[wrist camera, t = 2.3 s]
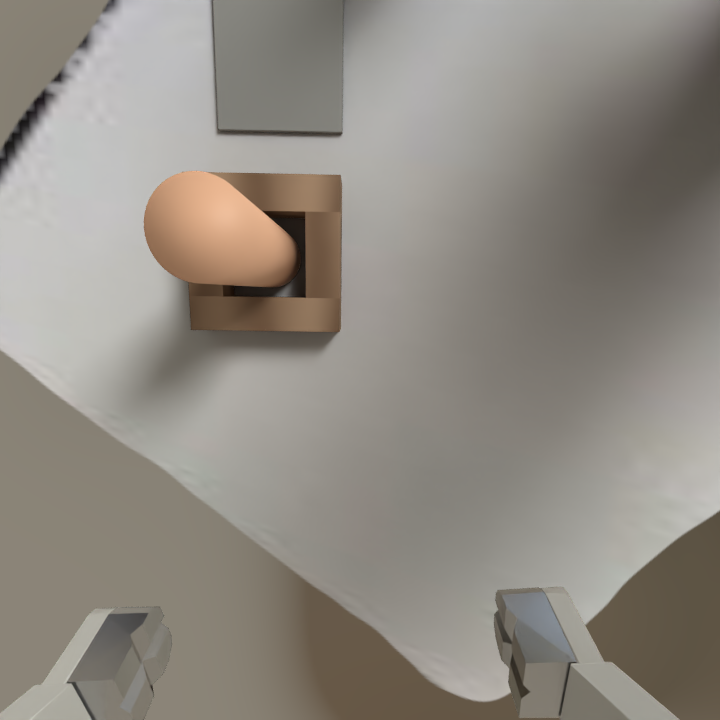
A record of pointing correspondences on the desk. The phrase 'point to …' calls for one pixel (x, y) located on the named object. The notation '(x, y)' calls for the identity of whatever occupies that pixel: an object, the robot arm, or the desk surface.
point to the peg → (216, 234)
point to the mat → (279, 65)
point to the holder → (323, 259)
